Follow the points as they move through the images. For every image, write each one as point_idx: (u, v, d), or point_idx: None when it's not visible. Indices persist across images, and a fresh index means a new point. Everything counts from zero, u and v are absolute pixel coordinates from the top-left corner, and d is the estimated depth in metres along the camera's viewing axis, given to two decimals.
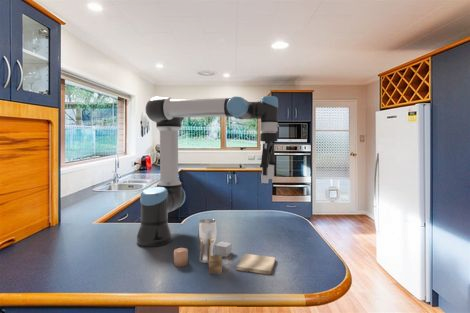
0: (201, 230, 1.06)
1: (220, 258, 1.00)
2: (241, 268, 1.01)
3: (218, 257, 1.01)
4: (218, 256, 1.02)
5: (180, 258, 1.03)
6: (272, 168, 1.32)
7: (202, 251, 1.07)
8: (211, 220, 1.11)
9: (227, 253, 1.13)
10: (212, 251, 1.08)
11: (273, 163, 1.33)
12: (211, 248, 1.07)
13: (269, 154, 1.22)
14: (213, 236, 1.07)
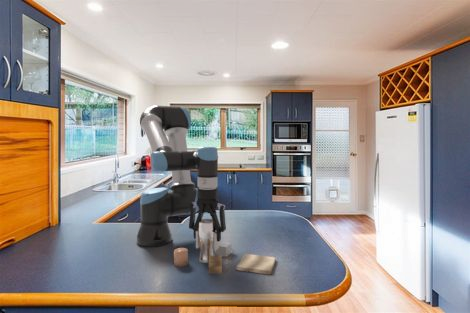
0: (201, 230, 1.06)
1: (220, 258, 1.00)
2: (241, 268, 1.01)
3: (218, 257, 1.01)
4: (218, 256, 1.02)
5: (180, 258, 1.03)
6: None
7: (202, 251, 1.07)
8: (211, 220, 1.11)
9: (227, 253, 1.13)
10: (212, 251, 1.08)
11: None
12: (211, 248, 1.07)
13: (198, 215, 1.08)
14: (213, 236, 1.07)
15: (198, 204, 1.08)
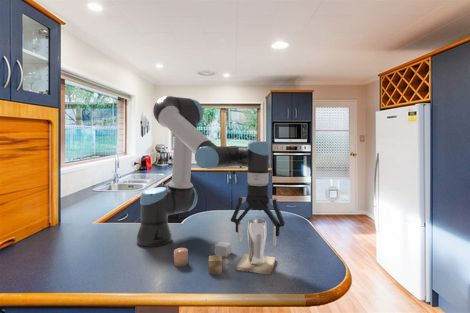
0: (252, 230, 1.02)
1: (220, 258, 1.00)
2: (241, 268, 1.01)
3: (218, 257, 1.01)
4: (218, 256, 1.02)
5: (180, 258, 1.03)
6: None
7: (252, 252, 1.03)
8: (260, 220, 1.07)
9: (227, 253, 1.14)
10: (262, 252, 1.04)
11: None
12: (262, 249, 1.03)
13: (245, 210, 1.04)
14: (264, 237, 1.03)
15: (248, 201, 1.04)
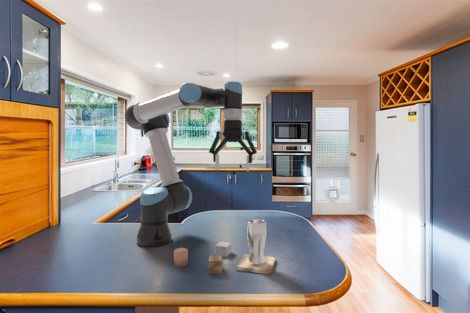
0: (252, 231, 1.02)
1: (220, 258, 1.00)
2: (241, 268, 1.01)
3: (218, 257, 1.01)
4: (218, 256, 1.02)
5: (180, 258, 1.03)
6: None
7: (252, 253, 1.03)
8: (259, 220, 1.07)
9: (227, 253, 1.14)
10: (262, 253, 1.04)
11: None
12: (261, 250, 1.03)
13: (221, 142, 1.21)
14: (264, 237, 1.02)
15: (224, 134, 1.21)
